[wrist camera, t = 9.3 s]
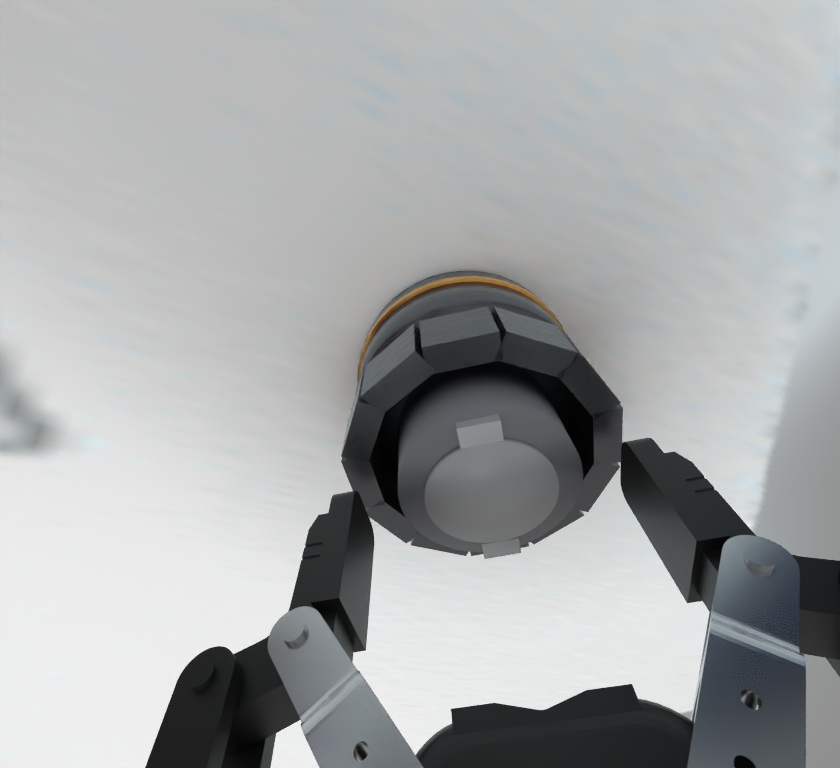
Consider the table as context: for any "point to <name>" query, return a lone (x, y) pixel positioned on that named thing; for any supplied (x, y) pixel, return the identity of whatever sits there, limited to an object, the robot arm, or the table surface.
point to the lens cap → (485, 460)
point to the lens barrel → (463, 347)
